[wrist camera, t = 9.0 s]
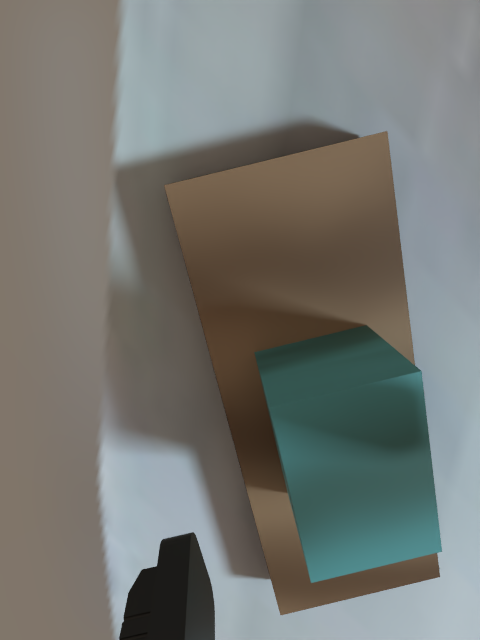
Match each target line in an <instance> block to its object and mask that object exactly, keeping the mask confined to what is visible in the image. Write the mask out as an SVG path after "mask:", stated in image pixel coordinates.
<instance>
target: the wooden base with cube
mask: <svg viewBox="0 0 480 640" xmlns="http://www.w3.org/2000/svg"><path fill="white" fill-rule="evenodd" d="M164 187H165V191H166V194H167V198H168V202H169V205H170V209H171V213H172V216H173V220H174V224H175V227H176V231H177V235H178V239H179V242H180V246H181V250H182V253H183V257H184V261H185V264H186V268H187V272H188V275H189V279H190V283H191V286H192V290H193V294H194V298H195V301H196V305H197V309H198V312H199V316H200V320H201V323H202V327H203V331H204V334H205V338H206V342H207V345H208V349H209V353H210V357H211V360H212V364H213V368H214V371H215V375H216V379H217V382H218V386H219V390H220V393H221V397H222V401H223V404H224V408H225V412H226V416H227V419H228V423H229V427H230V430H231V434H232V438H233V441H234V445H235V449H236V452H237V456H238V460H239V463H240V467H241V471H242V474H243V478H244V482H245V486H246V489H247V493H248V497H249V500H250V504H251V508H252V511H253V515H254V519H255V522H256V526H257V530H258V533H259V537H260V541H261V545H262V548H263V552H264V556H265V559H266V563H267V567H268V570H269V574H270V578H271V581H272V585H273V589H274V592H275V596H276V600H277V604H278V607H279V611H280V615H284V614H288V613H292V612H296V611H301V610H305V609H309V608H313V607H317V606H321V605H325V604H330V603H334V602H338V601H342V600H346V599H350V598H354V597H358V596H363V595H367V594H371V593H375V592H379V591H383V590H387V589H392V588H396V587H400V586H404V585H408V584H412V583H416V582H421V581H425V580H429V579H433V578H437V577H440V573H439V565H438V556H437V553H438V552H442V548H441V539H440V530H439V522H438V513H437V504H436V495H435V486H434V478H433V469H432V460H431V451H430V442H429V434H428V425H427V416H426V407H425V399H424V390H423V381H422V372H421V370H419V369H418V368H417V367H416V366H415V362H414V353H413V345H412V336H411V328H410V319H409V311H408V302H407V294H406V285H405V277H404V268H403V260H402V252H401V243H400V235H399V226H398V218H397V209H396V201H395V192H394V184H393V175H392V167H391V158H390V150H389V142H388V133H387V131H386V132H382V133H378V134H373V135H369V136H365V137H361V138H357V139H353V140H349V141H345V142H340V143H336V144H332V145H328V146H324V147H320V148H316V149H312V150H307V151H303V152H299V153H295V154H291V155H287V156H283V157H279V158H274V159H270V160H266V161H262V162H258V163H254V164H250V165H246V166H241V167H237V168H233V169H229V170H225V171H221V172H217V173H213V174H208V175H204V176H200V177H196V178H192V179H188V180H184V181H180V182H175V183H171V184H167V185H164Z"/></svg>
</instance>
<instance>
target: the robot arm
mask: <svg viewBox="0 0 480 640" xmlns="http://www.w3.org/2000/svg"><path fill="white" fill-rule="evenodd" d="M119 639H120V640H215V610H214V598H213V591H212V586H211V582H210V578H209V575H208V572H207V569H206V566H205V563H204V559H203V556H202V553H201V550H200V547H199V544H198V541H197V538H196V535H195V534H194V533H193V532H192V533H188V534H184V535H179V536H175V537H171V538H166V539H163V540H162V541H161V544H160V550H159V556H158V563H157V566H156V567H152V568H147V569H143V570H141V572H140V574H139V576H138V577H137V579H136V581H135V583H134V584H133V586H132V588H131V589H130V591H129V593H128V598H127V603H126V608H125V613H124V622H123V623H122V628H121V632H120V637H119Z"/></svg>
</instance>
